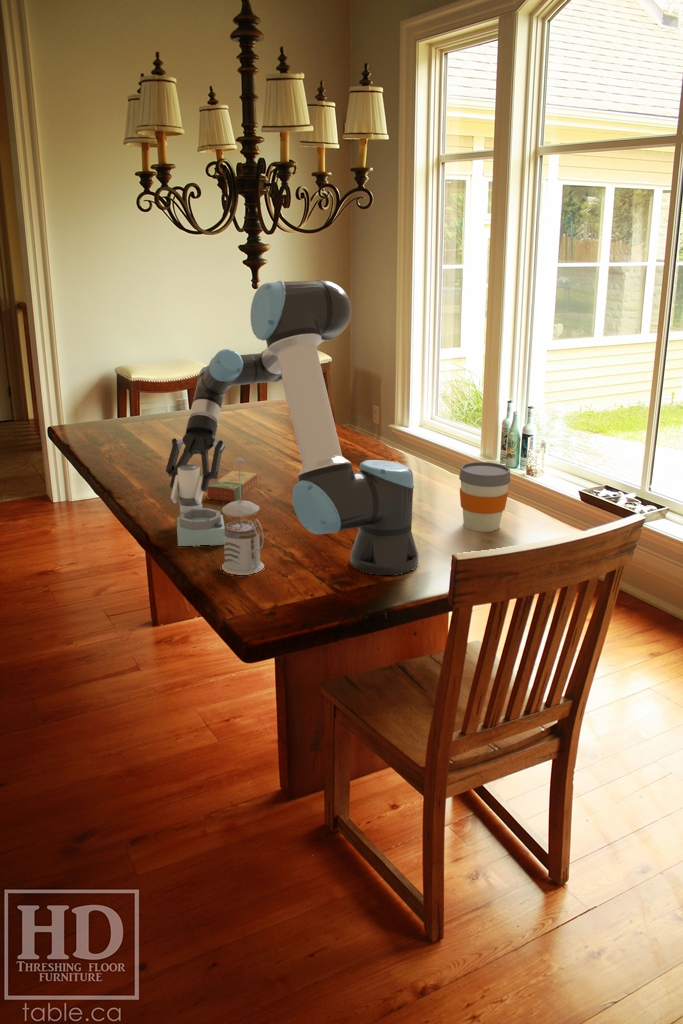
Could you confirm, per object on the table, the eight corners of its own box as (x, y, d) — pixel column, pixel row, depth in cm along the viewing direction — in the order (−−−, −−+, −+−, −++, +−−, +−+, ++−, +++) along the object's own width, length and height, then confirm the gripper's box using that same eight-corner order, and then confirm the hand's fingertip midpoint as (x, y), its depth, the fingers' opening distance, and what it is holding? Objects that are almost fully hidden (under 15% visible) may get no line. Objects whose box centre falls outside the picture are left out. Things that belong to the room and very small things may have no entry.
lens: (203, 513, 209) (200, 469, 205) (179, 514, 208) (177, 470, 204) (202, 506, 214) (200, 463, 211) (179, 507, 213) (177, 464, 210)
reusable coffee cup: (486, 514, 221) (490, 459, 216) (516, 529, 210) (521, 472, 205) (446, 521, 215) (449, 465, 210) (475, 537, 205) (479, 478, 200)
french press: (247, 555, 193) (243, 449, 184) (279, 570, 185) (277, 460, 176) (211, 566, 186) (206, 457, 178) (243, 582, 178) (239, 469, 170)
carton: (257, 486, 243) (257, 472, 242) (235, 503, 228) (234, 488, 227) (231, 483, 245) (230, 469, 244) (207, 500, 231) (206, 485, 229)
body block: (225, 544, 199) (224, 520, 197) (178, 547, 197) (176, 523, 195) (223, 529, 208) (222, 507, 206) (177, 532, 206) (176, 509, 204)
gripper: (241, 430, 219) (225, 510, 208) (173, 427, 221) (154, 506, 211) (234, 414, 212) (218, 496, 202) (164, 412, 215) (144, 492, 205)
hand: (185, 501), depth 207 cm, fingers closed on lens, 5 cm apart
